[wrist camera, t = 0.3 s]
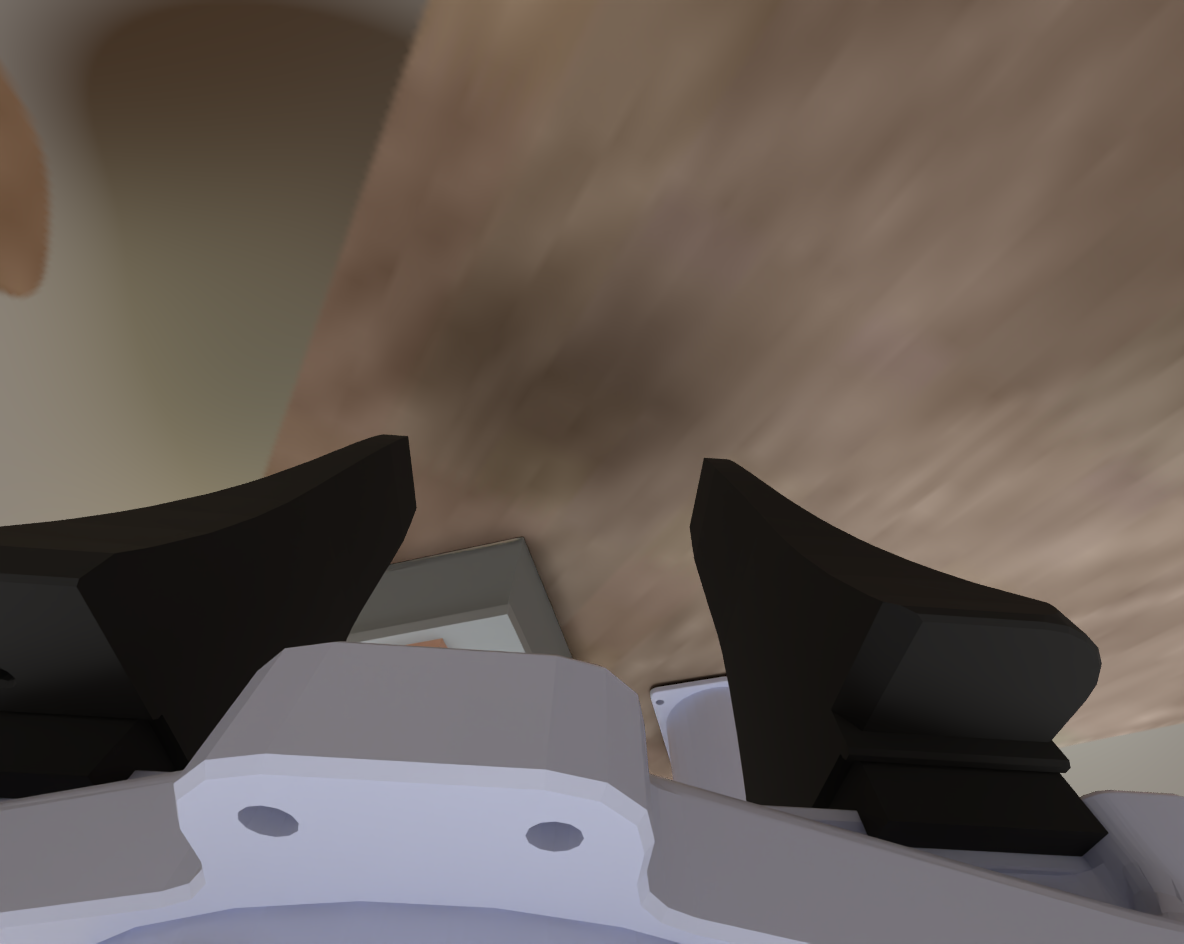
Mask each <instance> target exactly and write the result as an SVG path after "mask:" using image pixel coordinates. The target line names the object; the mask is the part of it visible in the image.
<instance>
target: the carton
mask: <svg viewBox="0 0 1184 944" xmlns="http://www.w3.org/2000/svg"><path fill="white" fill-rule="evenodd" d="M506 604H510V606H511V608H512V610H513V612H514V614H515V616H516V619H517V621H518V623H519V625H520V627H521V629H522V632H523V634H524V636H525V638H526V640H527V643H528V645H529V647H530V649H531V651H532V653H536V654H552V655H560V656H564V657H568V658H572V656H571V653H570V651H569V648H568V646H567V643H566V641H565V638H564V636H563V634H562V631H561V629H560V626H559V624H558V621H557V619H556V616H555V614H554V611H553V609H552V606H551V604H550V601H549V599H548V597H547V594H546V592H545V589H544V587H543V584H542V582H541V579H540V577H539V574H538V572H537V569H536V567H535V564H534V562H533V560H532V557H531V555H530V552H529V550H528V547H527V545H526V542H525V540H524V537H520V538H515V539H510V540H505V541H500V542H496V543H491V544H486V545H481V546H477V547H472V548H467V549H462V550H457V551H453V552H448V553H443V554H438V555H434V556H429V557H424V558H419V559H415V560H410V561H405V562H400V563H395V564H391V565H389V566H388V568H387V569H386V571H385V573H384V574H383V576H382V578H381V579H380V581H379V583H378V584H377V586H376V588H375V589H374V591H373V593H372V594H371V596H370V597H369V599H368V601H367V602H366V604H365V606H364V607H363V609H362V611H361V612H360V614H359V616H358V618H357V620H356V622H355V623H354V625H353V627H352V629H351V631H350V633H349V634H354V633H359V632H365V631H370V630H375V629H380V628H386V627H391V626H396V625H401V624H406V623H412V622H417V621H422V620H427V619H433V618H438V617H443V616H448V615H454V614H459V613H464V612H469V611H475V610H480V609H485V608H490V607H496V606H501V605H506ZM572 659H573V658H572Z"/></svg>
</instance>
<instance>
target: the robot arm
mask: <svg viewBox="0 0 1184 944" xmlns="http://www.w3.org/2000/svg"><path fill="white" fill-rule="evenodd" d="M416 508H417V507H416V499H415V491H414V482H413V474H412V465H411V457H410V449H409V440H408V436H397V435H378V436H374V437H371V438H368V439H365V440H362V441H359V442H357V443H354V444H352V445H349V446H347V447H344V448H342V449H339V450H337V451H334V452H332V453H329V454H327V455H324V456H322V457H319V458H317V459H314V460H311V461H309V462H306V463H303V464H301V465H298V466H295V467H292V468H290V469H287V470H284V471H281V472H279V473H276V474H273V475H270V476H268V477H264V478H261V479H258V480H255V481H252V482H249V483H246V484H242V485H239V486H235V487H231V488H228V489H224V490H221V491H217V492H213V493H209V494H206V495H201V496H196V497H192V498H187V499H182V500H178V501H173V502H169V503H164V504H159V505H155V506H150V507H145V508H139V509H133V510H128V511H122V512H116V513H109V514H103V515H96V516H89V517H82V518H75V519H67V520H59V521H51V522H42V523H32V524H22V525H12V526H2V527H0V944H1184V797H1183V796H1179V795H1175V794H1167V793H1151V792H1150V793H1149V792H1133V791H1132V792H1131V791H1114V790H1105V791H1095V792H1092V793H1089V794H1086V795H1083V796H1081V797H1079V796H1078V795H1077V794H1076V792H1075V791H1074V790H1073V789H1072V788H1071V787H1070V785H1069V784H1068V783H1067V782H1066V780H1065V779H1064V778H1063V777H1062V775H1061V774H1060V773H1066V772H1067V771H1068V770H1069V769H1070V762H1069V760H1068V759H1067V757H1066V756H1065V755H1064V754H1063V753H1062V751H1061V750H1060V749H1059V748H1058V747H1057V746H1056V744H1055V743H1054V742H1053V741H1052V739H1053V738H1054V737H1055V736H1056V734H1057V733H1058V732H1059V731H1060V730H1061V729H1062V727H1063V726H1064V725H1065V724H1066V723H1067V722H1068V721H1069V719H1070V718H1071V717H1072V716H1073V715H1074V714H1075V713H1076V711H1077V710H1078V709H1079V708H1080V707H1081V706H1082V704H1083V703H1084V702H1085V701H1086V700H1087V698H1088V697H1089V695H1090V694H1091V692H1092V691H1093V689H1094V688H1095V686H1096V685H1097V681H1098V677H1099V673H1100V669H1101V664H1102V663H1101V658H1100V654H1099V649H1098V647H1097V646H1096V645H1095V644H1094V643H1093V641H1092V640H1091V639H1090V638H1089V637H1088V636H1087V635H1086V634H1085V633H1084V632H1083V631H1082V630H1080V629H1079V628H1078V627H1077V626H1076V625H1075V624H1074V623H1072V622H1071V621H1070V620H1069V619H1068V618H1067V617H1065V616H1064V615H1063V614H1062V613H1061V612H1060V611H1059V610H1057V609H1056V608H1055V607H1054V606H1052V605H1051V604H1049V603H1046V602H1042V601H1039V600H1035V599H1031V598H1028V597H1024V596H1020V595H1017V594H1013V593H1009V592H1006V591H1002V590H998V589H995V588H991V587H987V586H984V585H980V584H976V583H973V582H970V581H967V580H964V579H961V578H958V577H955V576H952V575H949V574H946V573H943V572H940V571H937V570H934V569H931V568H928V567H925V566H923V565H920V564H917V563H915V562H912V561H909V560H907V559H904V558H902V557H899V556H897V555H894V554H892V553H890V552H887V551H885V550H882V549H880V548H878V547H875V546H873V545H871V544H869V543H866V542H864V541H862V540H860V539H858V538H856V537H854V536H852V535H850V534H848V533H846V532H844V531H842V530H840V529H838V528H836V527H834V526H832V525H830V524H829V523H827V522H825V521H823V520H821V519H820V518H818V517H816V516H815V515H813V514H811V513H810V512H808V511H806V510H805V509H803V508H801V507H800V506H798V505H797V504H795V503H794V502H792V501H790V500H789V499H787V498H786V497H784V496H783V495H781V494H780V493H778V492H777V491H776V490H774V489H773V488H771V487H770V486H768V485H767V484H766V483H764V482H763V481H761V480H760V479H758V478H757V477H756V476H754V475H753V474H751V473H750V472H748V471H747V470H745V469H744V468H743V467H741V466H739V465H738V464H736V463H735V462H733V461H731V460H727V459H713V458H704V461H703V465H702V470H701V475H700V480H699V485H698V489H697V494H696V499H695V504H694V509H693V513H692V518H691V523H690V533H691V540H692V547H693V553H694V559H695V563H696V566H697V570H698V573H699V576H700V580H701V583H702V586H703V589H704V593H705V596H706V599H707V602H708V605H709V609H710V612H711V615H712V618H713V621H714V625H715V628H716V631H717V634H718V638H719V642H720V646H721V649H722V654H723V659H724V664H725V669H726V675H727V676H724V677H718V678H711V679H705V680H699V681H692V682H686V683H680V684H674V685H667V686H661V687H656V688H653V689H652V690H651V691H650V697H651V701H652V704H653V707H654V711H655V714H656V717H657V720H658V723H659V727H660V730H661V733H662V736H663V740H664V743H665V746H666V749H667V752H668V756H669V759H670V762H671V767H672V774H673V780H670V779H666V778H663V777H659V776H656V775H652V774H649V769H648V758H647V746H646V735H645V725H644V720H643V715H642V711H641V706H640V702H639V697H638V694H637V693H636V692H634V691H633V690H632V689H631V688H629V687H628V686H627V685H626V684H625V683H623V682H622V681H621V680H620V679H618V678H617V677H616V676H615V675H614V674H612V673H611V672H610V671H609V670H607V669H606V668H604V667H602V666H600V665H596V664H592V663H588V662H584V661H580V660H576V659H572V658H568V657H564V656H560V655H552V654H536V653H520V652H504V651H488V650H472V649H456V648H440V647H425V646H409V645H393V644H377V643H361V642H346V640H347V638H348V636H349V633H350V631H351V629H352V627H353V625H354V623H355V622H356V620H357V618H358V616H359V614H360V612H361V611H362V609H363V607H364V606H365V604H366V602H367V601H368V599H369V597H370V596H371V594H372V593H373V591H374V589H375V588H376V586H377V584H378V583H379V581H380V579H381V578H382V576H383V574H384V573H385V571H386V569H387V568H388V566H389V565H390V563H391V561H392V559H393V558H394V556H395V554H396V553H397V551H398V549H399V548H400V546H401V544H402V542H403V541H404V538H405V536H406V534H407V531H408V529H409V527H410V524H411V521H412V519H413V516H414V513H415V511H416Z"/></svg>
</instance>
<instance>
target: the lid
mask: <svg viewBox="0 0 1184 944" xmlns="http://www.w3.org/2000/svg"><path fill="white" fill-rule="evenodd" d="M346 642H361V643H377V644H393V645H409V646H425V647H440V648H456V649H472V650H488V651H504V652H520V653H532V651H531V649H530V647H529V645H528V643H527V640H526V638H525V636H524V634H523V632H522V629H521V627H520V625H519V623H518V621H517V619H516V616H515V614H514V612H513V610H512V608H511V606H510V604H506V605H501V606H496V607H490V608H485V609H480V610H475V611H469V612H464V613H459V614H454V615H448V616H443V617H438V618H433V619H427V620H422V621H417V622H412V623H406V624H401V625H396V626H391V627H386V628H380V629H375V630H370V631H365V632H359V633H354V634H349V636H348V638H347V640H346Z"/></svg>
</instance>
